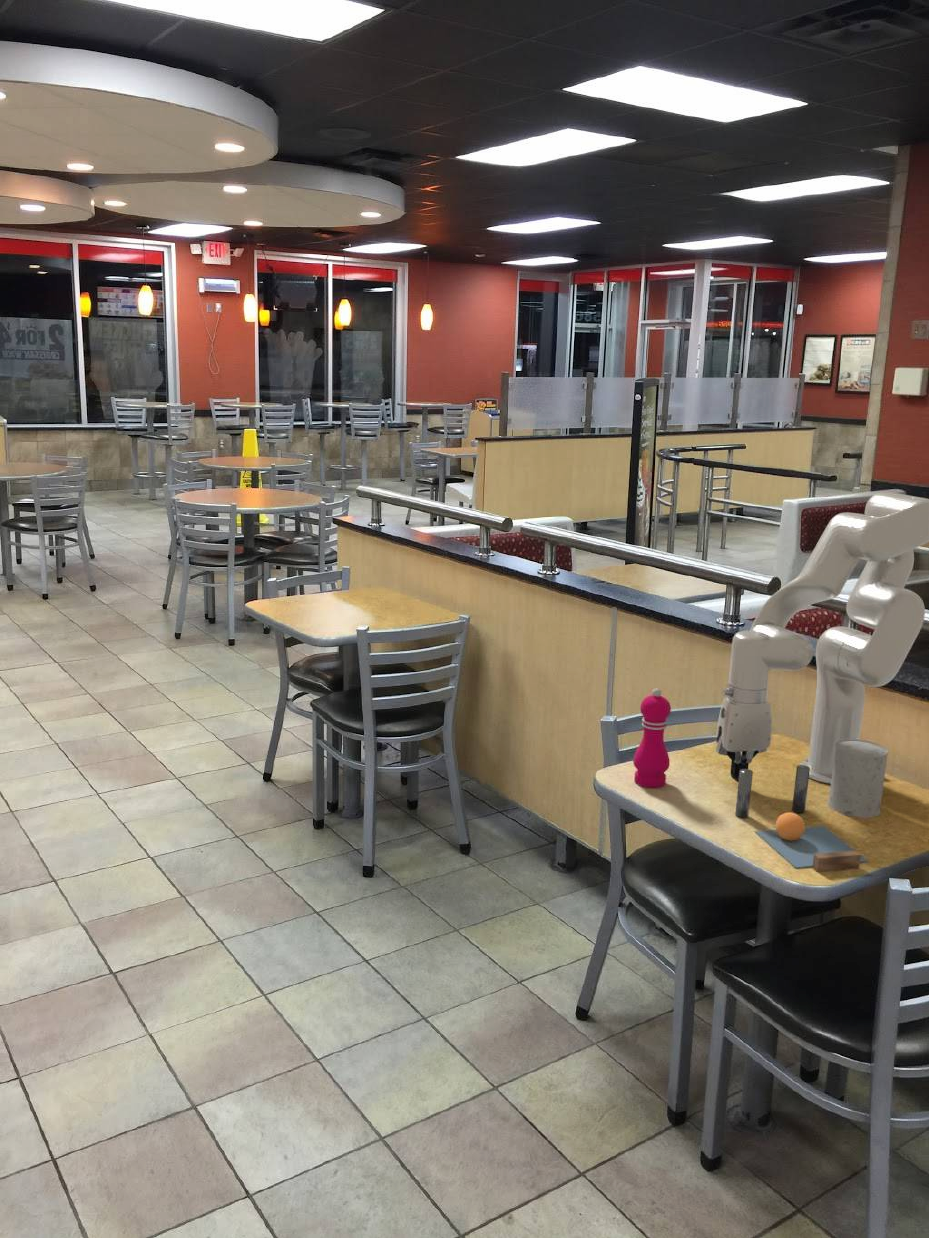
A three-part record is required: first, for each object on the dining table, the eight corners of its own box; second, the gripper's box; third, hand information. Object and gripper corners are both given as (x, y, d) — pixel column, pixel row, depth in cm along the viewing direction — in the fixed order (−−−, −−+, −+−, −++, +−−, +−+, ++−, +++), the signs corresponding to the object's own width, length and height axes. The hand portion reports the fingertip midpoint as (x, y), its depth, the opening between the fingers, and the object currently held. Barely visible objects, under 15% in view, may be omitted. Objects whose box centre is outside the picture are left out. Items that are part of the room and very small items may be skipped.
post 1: (744, 812, 194) (748, 768, 192) (750, 817, 192) (755, 773, 189) (732, 813, 193) (737, 769, 191) (739, 818, 191) (743, 774, 189)
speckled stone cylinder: (853, 820, 192) (861, 759, 189) (817, 801, 200) (824, 742, 197) (891, 813, 195) (899, 753, 192) (854, 794, 204) (862, 736, 201)
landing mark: (823, 826, 189) (823, 825, 189) (868, 861, 175) (868, 860, 175) (754, 832, 186) (755, 831, 186) (795, 868, 172) (795, 867, 172)
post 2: (800, 808, 196) (805, 764, 194) (807, 813, 194) (812, 769, 192) (789, 809, 196) (794, 765, 194) (795, 814, 194) (801, 770, 192)
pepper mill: (670, 789, 203) (678, 694, 199) (634, 788, 204) (641, 693, 199) (664, 775, 210) (672, 683, 206) (629, 774, 211) (636, 682, 206)
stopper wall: (853, 863, 175) (855, 850, 174) (859, 867, 173) (860, 854, 173) (812, 867, 173) (813, 854, 172) (817, 871, 171) (818, 858, 171)
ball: (810, 840, 180) (797, 842, 184) (809, 812, 181) (796, 814, 186) (783, 838, 179) (771, 840, 184) (783, 810, 180) (770, 812, 185)
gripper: (721, 701, 196) (712, 789, 200) (790, 697, 199) (781, 784, 204) (703, 689, 203) (696, 774, 208) (771, 686, 207) (762, 770, 211)
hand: (738, 779), depth 206 cm, fingers closed
